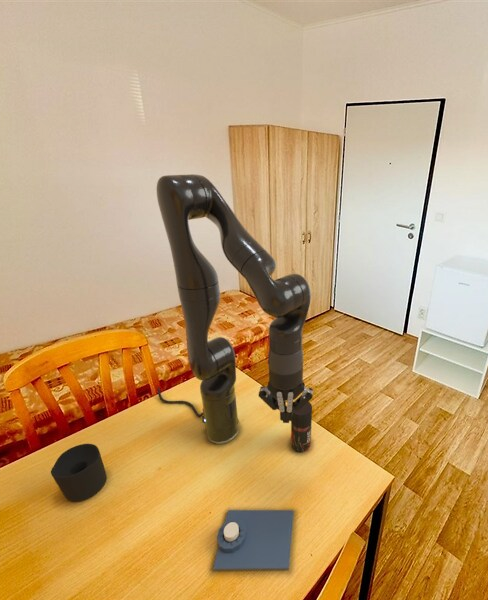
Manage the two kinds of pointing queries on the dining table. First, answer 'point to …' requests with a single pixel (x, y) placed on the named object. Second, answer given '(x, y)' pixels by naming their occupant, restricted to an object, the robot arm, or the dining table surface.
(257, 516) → the scale
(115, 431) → the dining table surface
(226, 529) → the button
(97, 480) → the pen holder
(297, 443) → the deodorant
